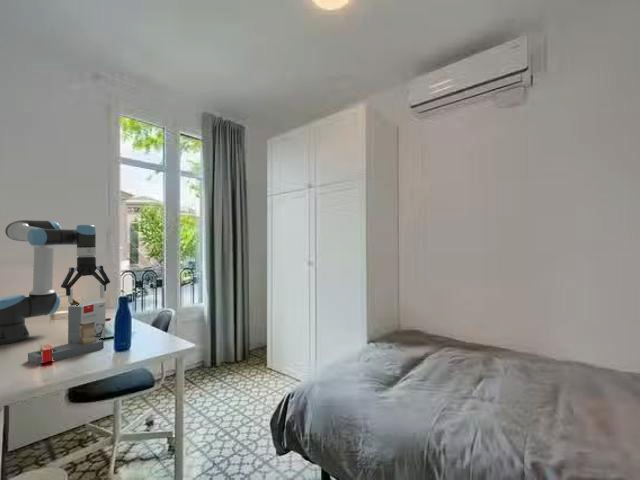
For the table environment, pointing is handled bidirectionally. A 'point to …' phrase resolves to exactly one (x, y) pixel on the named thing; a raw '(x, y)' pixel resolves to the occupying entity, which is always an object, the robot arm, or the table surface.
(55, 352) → the socket strip
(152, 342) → the table surface
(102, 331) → the hard drive box
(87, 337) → the plug
